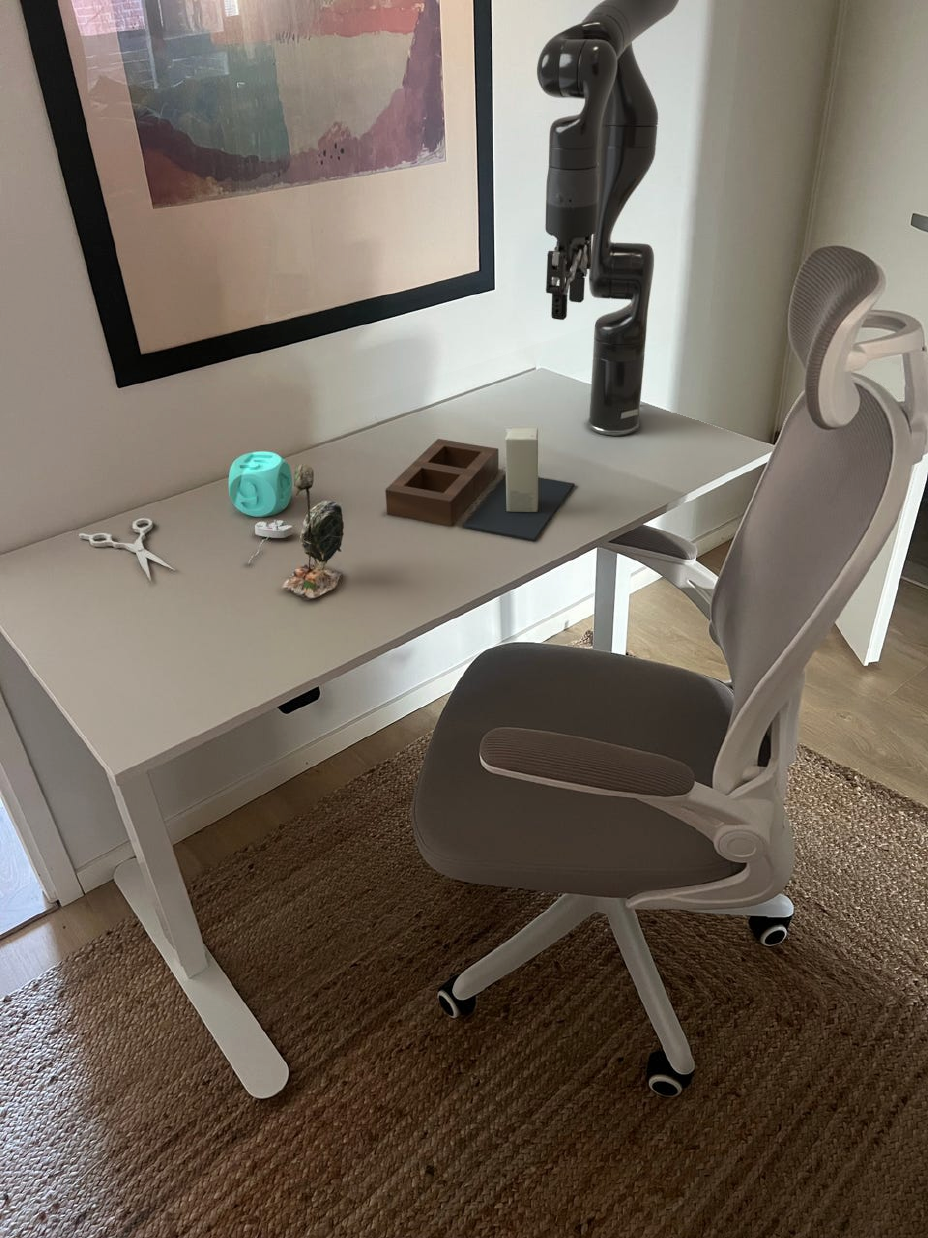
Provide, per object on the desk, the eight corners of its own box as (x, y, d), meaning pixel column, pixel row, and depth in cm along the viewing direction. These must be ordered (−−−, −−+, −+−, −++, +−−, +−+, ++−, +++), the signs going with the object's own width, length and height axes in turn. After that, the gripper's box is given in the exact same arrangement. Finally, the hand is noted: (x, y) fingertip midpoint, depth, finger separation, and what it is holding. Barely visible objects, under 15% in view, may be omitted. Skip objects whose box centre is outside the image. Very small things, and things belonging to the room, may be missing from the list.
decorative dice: (294, 495, 166) (288, 452, 161) (280, 518, 159) (273, 473, 155) (248, 493, 167) (241, 449, 162) (232, 516, 160) (224, 471, 156)
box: (538, 500, 162) (540, 427, 154) (537, 513, 158) (539, 439, 151) (506, 499, 162) (506, 426, 155) (504, 512, 158) (504, 438, 151)
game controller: (294, 526, 157) (292, 511, 155) (286, 564, 148) (284, 549, 146) (258, 527, 157) (256, 512, 155) (248, 565, 147) (246, 550, 146)
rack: (438, 461, 175) (437, 438, 173) (498, 472, 172) (498, 448, 169) (386, 514, 160) (385, 489, 157) (451, 526, 156) (450, 501, 153)
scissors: (143, 513, 160) (197, 561, 147) (143, 517, 160) (198, 566, 147) (78, 534, 154) (128, 586, 141) (79, 538, 155) (130, 591, 142)
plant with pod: (366, 576, 144) (355, 450, 133) (304, 607, 138) (287, 478, 126) (331, 556, 149) (317, 433, 138) (269, 586, 143) (250, 459, 131)
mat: (507, 474, 171) (507, 471, 170) (574, 485, 167) (574, 483, 166) (462, 527, 156) (462, 525, 155) (534, 541, 152) (534, 538, 151)
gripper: (582, 212, 136) (577, 328, 145) (611, 188, 146) (604, 298, 156) (530, 208, 138) (529, 322, 148) (563, 185, 149) (559, 293, 158)
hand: (567, 309), depth 152 cm, fingers open, 8 cm apart
